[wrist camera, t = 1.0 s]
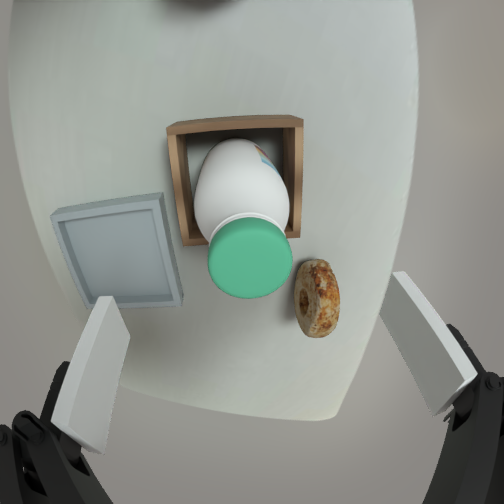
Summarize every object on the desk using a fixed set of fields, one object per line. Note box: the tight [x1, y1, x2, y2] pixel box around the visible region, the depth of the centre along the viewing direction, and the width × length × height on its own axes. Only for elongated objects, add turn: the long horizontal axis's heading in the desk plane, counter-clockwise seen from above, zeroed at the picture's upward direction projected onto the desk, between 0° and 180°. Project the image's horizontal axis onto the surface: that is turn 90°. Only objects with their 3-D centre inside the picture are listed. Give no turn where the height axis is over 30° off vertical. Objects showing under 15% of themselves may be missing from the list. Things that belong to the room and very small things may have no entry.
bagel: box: [294, 259, 340, 338], centre depth 37 cm, size 10×4×10 cm, turn 176°
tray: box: [50, 192, 183, 309], centre depth 35 cm, size 16×16×2 cm
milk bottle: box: [194, 138, 292, 299], centre depth 23 cm, size 8×8×20 cm
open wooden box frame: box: [166, 115, 303, 246], centre depth 29 cm, size 13×13×6 cm
